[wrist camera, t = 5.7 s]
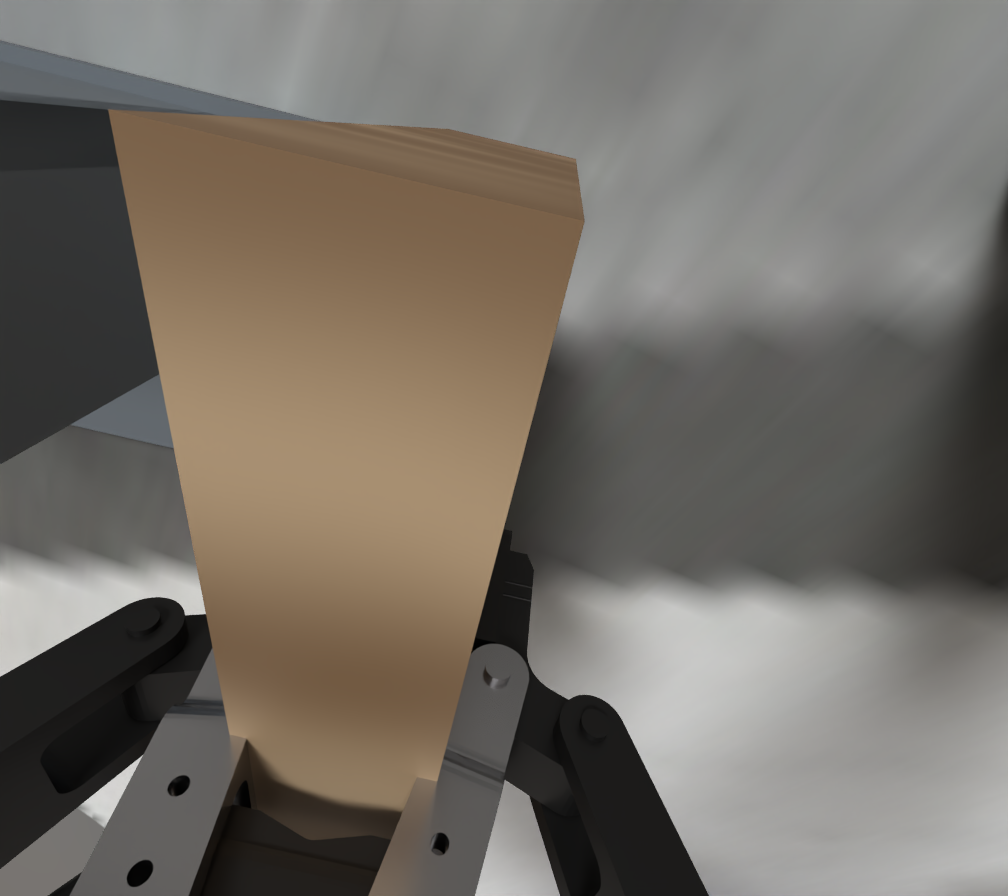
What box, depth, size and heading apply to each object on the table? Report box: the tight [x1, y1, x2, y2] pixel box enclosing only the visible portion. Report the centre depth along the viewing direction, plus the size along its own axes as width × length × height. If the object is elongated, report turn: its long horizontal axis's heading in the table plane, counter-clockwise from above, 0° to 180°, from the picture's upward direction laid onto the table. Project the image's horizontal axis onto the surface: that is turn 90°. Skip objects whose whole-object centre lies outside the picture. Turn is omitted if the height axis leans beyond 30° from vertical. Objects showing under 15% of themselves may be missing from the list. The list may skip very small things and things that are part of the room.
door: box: [108, 109, 584, 840], centre depth 12 cm, size 19×5×10 cm, turn 169°
